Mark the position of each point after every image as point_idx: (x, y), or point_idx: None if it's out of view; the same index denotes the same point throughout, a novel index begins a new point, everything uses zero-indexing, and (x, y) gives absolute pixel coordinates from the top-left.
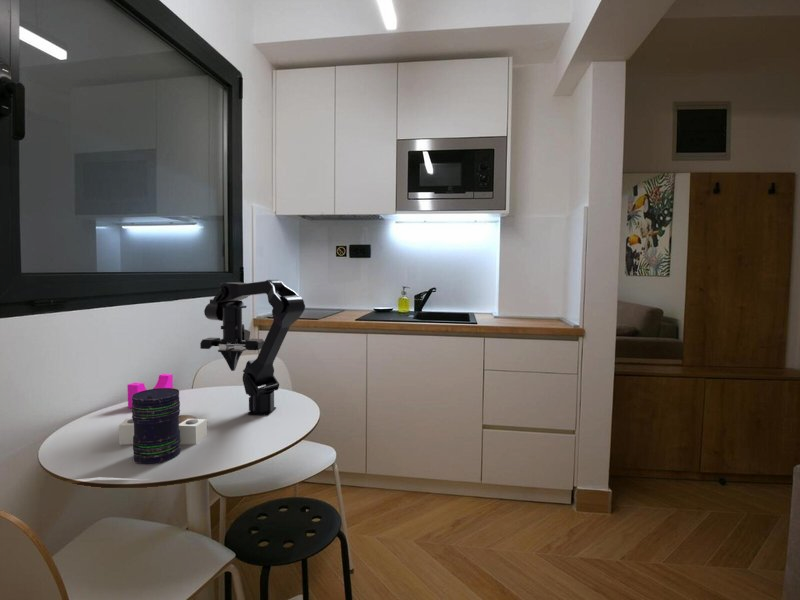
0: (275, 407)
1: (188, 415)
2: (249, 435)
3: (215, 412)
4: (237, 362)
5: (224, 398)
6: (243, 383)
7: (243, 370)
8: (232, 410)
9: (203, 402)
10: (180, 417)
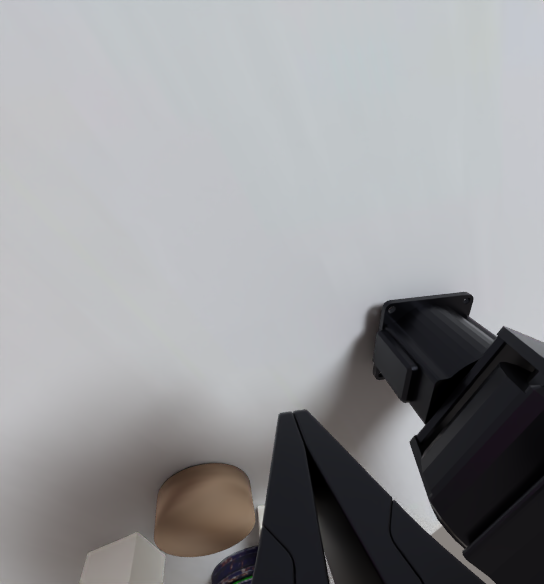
0: (470, 297)
1: (203, 503)
2: (410, 459)
3: (203, 343)
4: (365, 477)
5: (73, 103)
6: (425, 488)
7: (475, 564)
8: (264, 305)
9: (5, 218)
10: (188, 519)
